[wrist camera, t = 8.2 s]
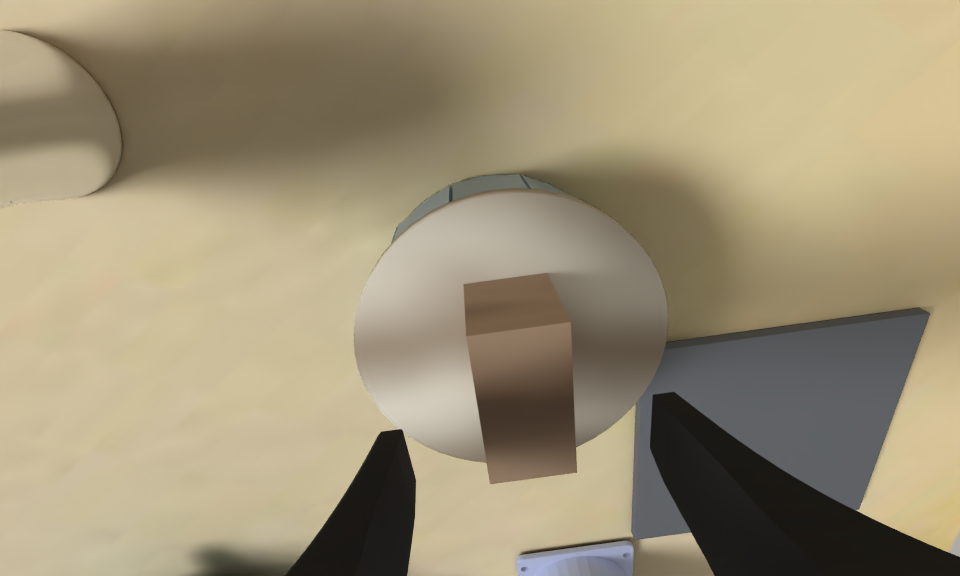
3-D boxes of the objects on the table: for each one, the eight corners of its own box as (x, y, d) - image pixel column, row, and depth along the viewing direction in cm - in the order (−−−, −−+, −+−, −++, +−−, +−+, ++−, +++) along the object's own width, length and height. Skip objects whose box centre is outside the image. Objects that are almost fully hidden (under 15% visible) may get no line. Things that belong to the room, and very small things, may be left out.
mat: (851, 501, 30) (859, 509, 30) (631, 531, 30) (634, 540, 30) (919, 307, 24) (930, 313, 23) (637, 346, 24) (642, 352, 23)
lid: (652, 430, 20) (699, 513, 17) (393, 465, 20) (379, 556, 17) (668, 165, 15) (741, 196, 11) (320, 213, 15) (275, 260, 11)
